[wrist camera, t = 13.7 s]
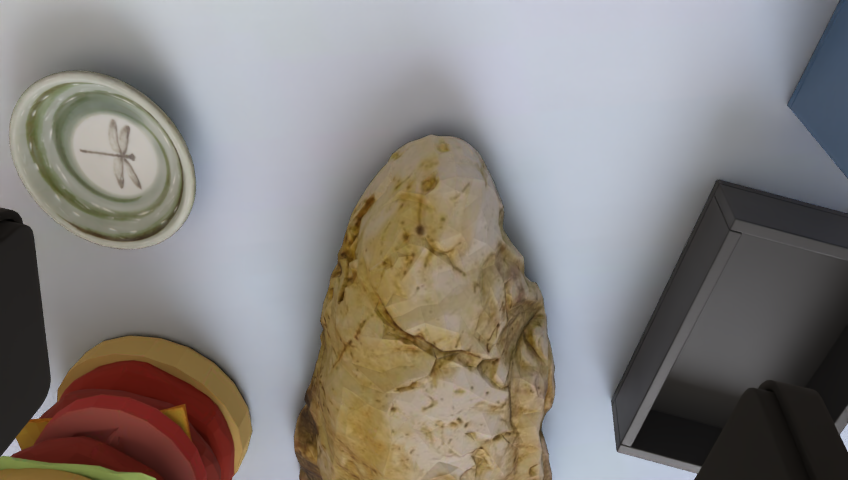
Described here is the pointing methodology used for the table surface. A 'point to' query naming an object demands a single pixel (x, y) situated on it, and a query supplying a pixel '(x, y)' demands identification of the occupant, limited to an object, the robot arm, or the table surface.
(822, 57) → the blue bin
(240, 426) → the hamburger
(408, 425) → the rock
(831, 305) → the charcoal bin
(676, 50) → the table surface
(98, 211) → the saucer
